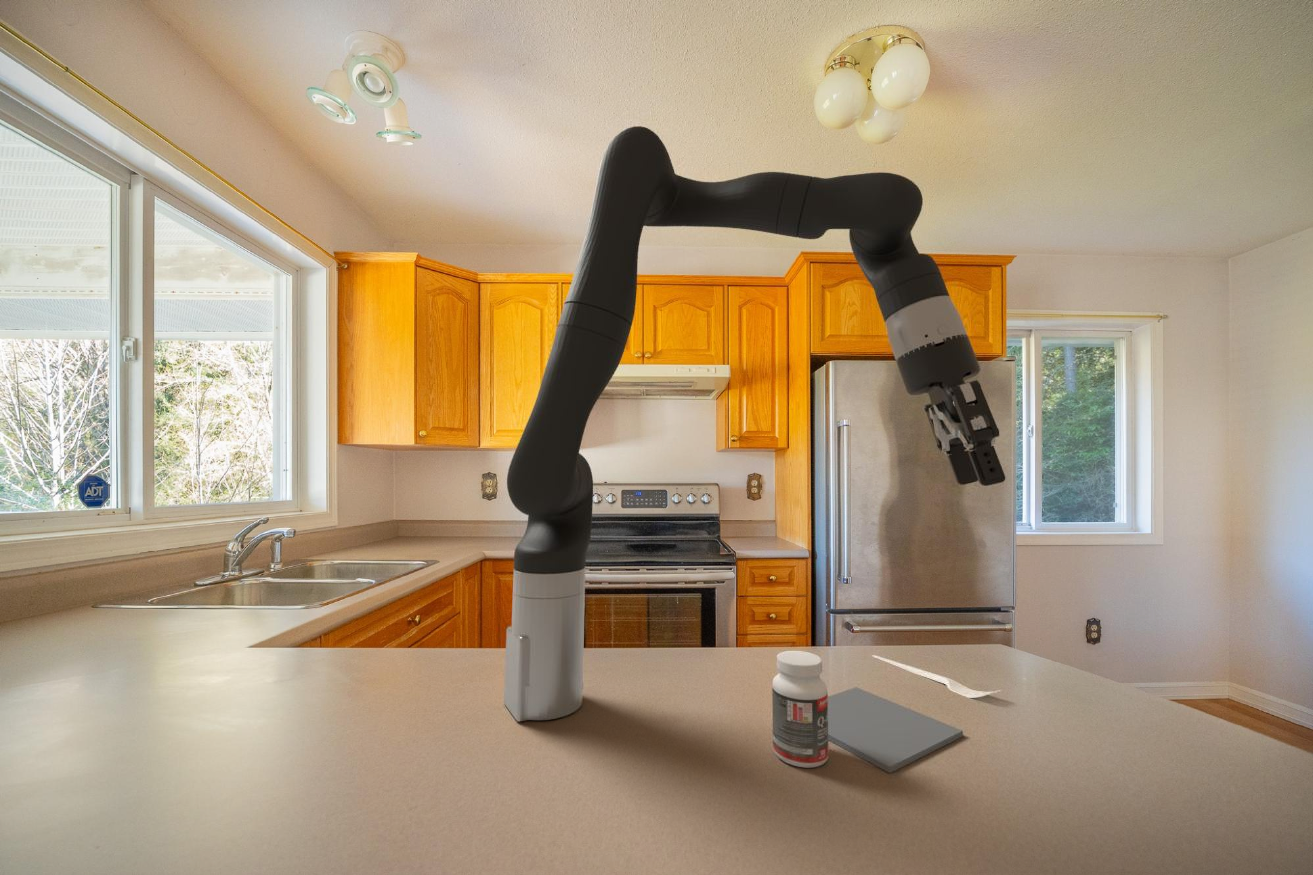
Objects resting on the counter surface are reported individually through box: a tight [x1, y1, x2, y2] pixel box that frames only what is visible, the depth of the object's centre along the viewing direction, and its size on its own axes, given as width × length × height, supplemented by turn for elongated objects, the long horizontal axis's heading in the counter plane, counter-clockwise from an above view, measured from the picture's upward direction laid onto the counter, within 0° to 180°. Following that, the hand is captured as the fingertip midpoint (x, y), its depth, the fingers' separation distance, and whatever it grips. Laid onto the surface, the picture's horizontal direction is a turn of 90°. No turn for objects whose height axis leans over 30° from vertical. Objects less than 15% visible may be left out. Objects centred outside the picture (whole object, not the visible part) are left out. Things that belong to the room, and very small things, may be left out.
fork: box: [871, 654, 1002, 699], centre depth 74 cm, size 3×20×2 cm, turn 25°
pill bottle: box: [771, 650, 830, 769], centre depth 53 cm, size 6×6×10 cm
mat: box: [828, 686, 964, 774], centre depth 59 cm, size 14×14×1 cm
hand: (980, 483), depth 54 cm, fingers open, 8 cm apart
